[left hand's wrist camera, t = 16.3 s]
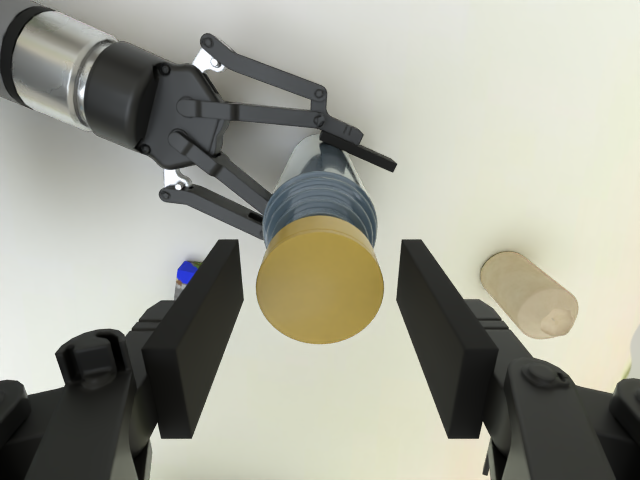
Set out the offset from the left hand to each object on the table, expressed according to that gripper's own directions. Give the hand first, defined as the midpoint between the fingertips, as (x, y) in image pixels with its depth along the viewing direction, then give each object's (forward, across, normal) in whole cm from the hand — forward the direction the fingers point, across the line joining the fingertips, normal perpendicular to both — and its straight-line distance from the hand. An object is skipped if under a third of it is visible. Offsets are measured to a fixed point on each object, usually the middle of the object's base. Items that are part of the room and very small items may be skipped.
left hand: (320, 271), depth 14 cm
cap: (-1, 0, 0) cm, 1 cm away
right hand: (+18, -5, +2) cm, 18 cm away
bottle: (+24, 0, 0) cm, 24 cm away
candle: (+24, -21, +12) cm, 34 cm away
